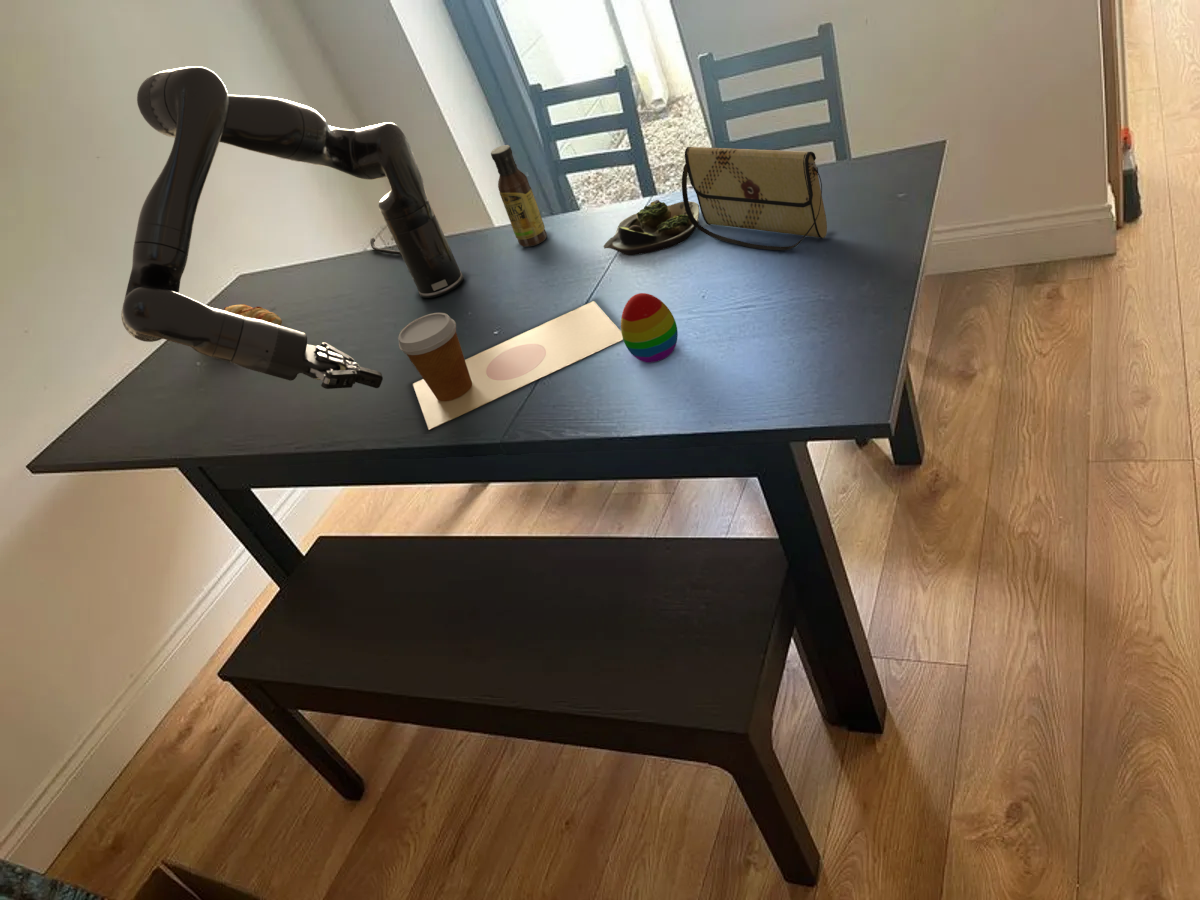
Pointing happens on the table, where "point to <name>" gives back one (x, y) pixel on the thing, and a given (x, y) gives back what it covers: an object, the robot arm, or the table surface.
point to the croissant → (254, 313)
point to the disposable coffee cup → (437, 355)
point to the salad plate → (654, 228)
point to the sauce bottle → (518, 199)
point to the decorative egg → (648, 328)
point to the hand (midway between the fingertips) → (380, 380)
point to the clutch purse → (756, 192)
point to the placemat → (524, 361)
